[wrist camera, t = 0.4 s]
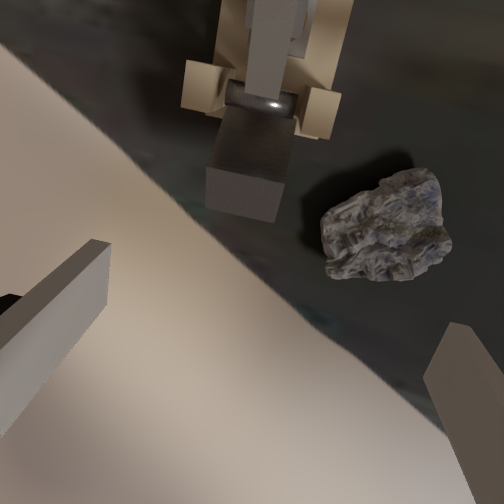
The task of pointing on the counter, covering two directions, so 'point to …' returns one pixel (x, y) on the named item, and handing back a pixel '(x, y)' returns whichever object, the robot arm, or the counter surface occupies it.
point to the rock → (387, 230)
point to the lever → (257, 118)
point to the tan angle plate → (296, 69)
